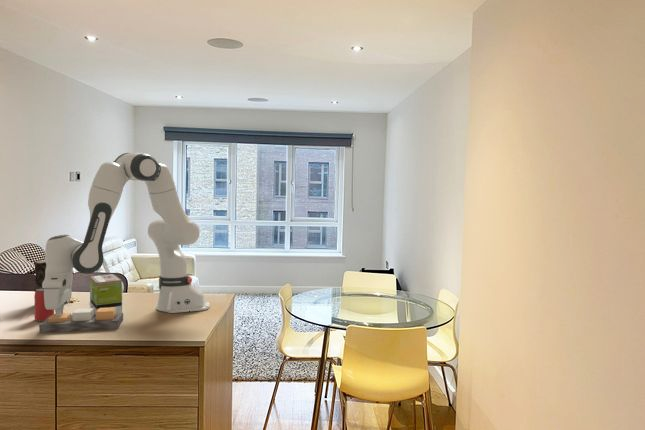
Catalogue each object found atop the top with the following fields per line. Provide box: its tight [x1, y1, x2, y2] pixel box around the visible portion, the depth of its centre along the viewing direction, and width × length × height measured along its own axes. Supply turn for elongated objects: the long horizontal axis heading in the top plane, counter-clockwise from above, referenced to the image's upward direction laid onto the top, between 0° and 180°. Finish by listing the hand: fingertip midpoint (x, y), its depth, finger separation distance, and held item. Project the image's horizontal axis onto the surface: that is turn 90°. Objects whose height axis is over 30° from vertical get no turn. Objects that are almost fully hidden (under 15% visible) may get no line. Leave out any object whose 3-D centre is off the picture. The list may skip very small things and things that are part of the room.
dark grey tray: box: [38, 312, 124, 334], centre depth 175 cm, size 26×12×3 cm, turn 104°
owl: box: [33, 259, 69, 306], centre depth 204 cm, size 13×13×20 cm
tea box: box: [89, 273, 123, 314], centre depth 195 cm, size 15×10×15 cm
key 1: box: [48, 312, 72, 322], centre depth 173 cm, size 6×6×3 cm
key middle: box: [71, 307, 94, 321], centre depth 175 cm, size 6×6×3 cm
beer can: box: [33, 288, 55, 322], centre depth 183 cm, size 7×7×12 cm
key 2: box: [96, 307, 116, 320], centre depth 177 cm, size 6×6×3 cm
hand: (59, 315), depth 173 cm, fingers closed, pressing on key 1
